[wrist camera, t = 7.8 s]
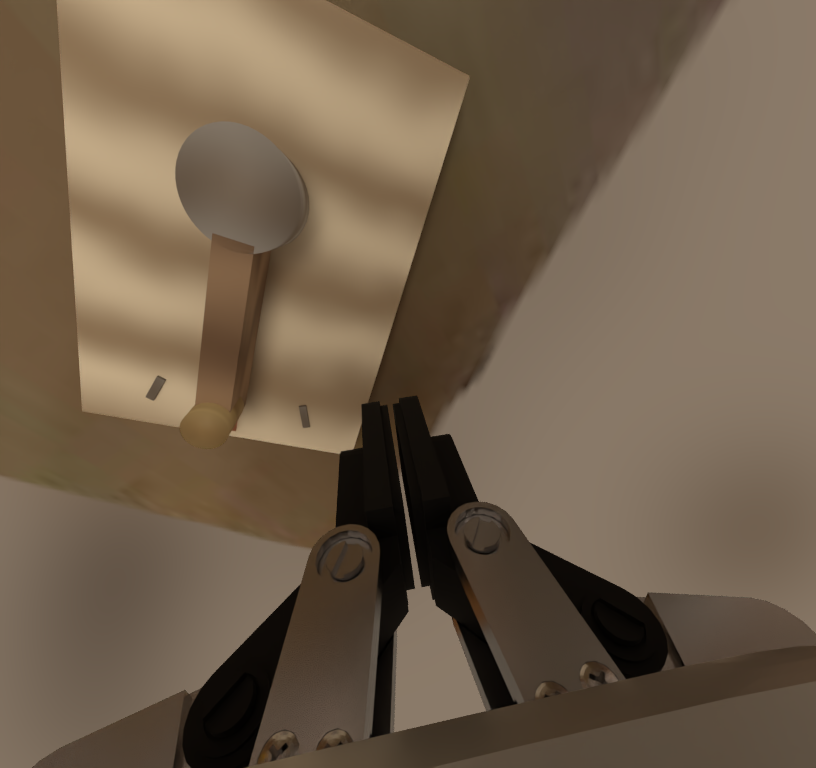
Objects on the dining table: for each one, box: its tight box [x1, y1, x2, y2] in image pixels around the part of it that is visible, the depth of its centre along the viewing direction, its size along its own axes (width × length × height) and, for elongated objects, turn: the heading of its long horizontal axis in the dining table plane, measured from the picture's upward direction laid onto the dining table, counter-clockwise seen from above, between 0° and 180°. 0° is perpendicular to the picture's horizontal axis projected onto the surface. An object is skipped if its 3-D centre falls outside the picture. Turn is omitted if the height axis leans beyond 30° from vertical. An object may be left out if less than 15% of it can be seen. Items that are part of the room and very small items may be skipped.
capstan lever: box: [175, 121, 309, 449], centre depth 18 cm, size 18×5×5 cm, turn 161°
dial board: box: [57, 0, 470, 454], centre depth 21 cm, size 25×18×3 cm
